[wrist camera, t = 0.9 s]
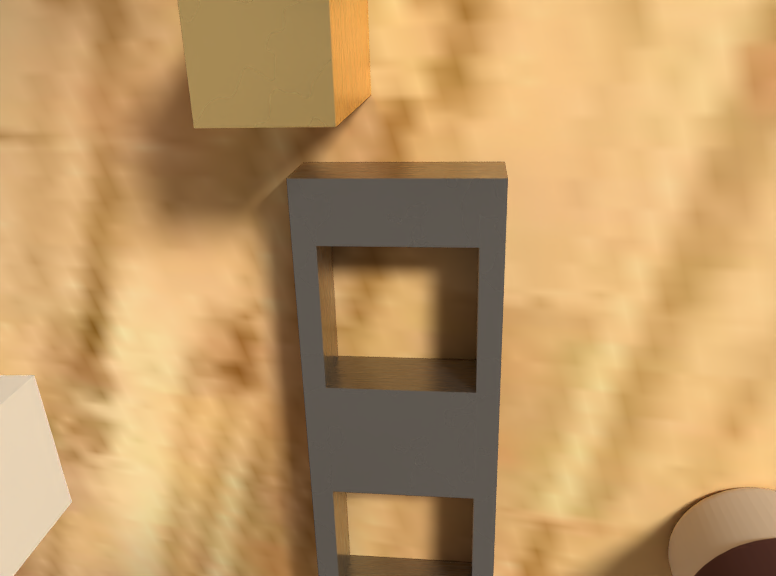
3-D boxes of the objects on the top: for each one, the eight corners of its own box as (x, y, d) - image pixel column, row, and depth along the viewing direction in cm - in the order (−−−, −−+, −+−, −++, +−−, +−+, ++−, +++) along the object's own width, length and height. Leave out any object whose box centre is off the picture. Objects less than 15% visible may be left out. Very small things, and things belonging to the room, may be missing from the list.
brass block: (253, -22, 28) (173, -30, 20) (366, -25, 27) (327, -35, 20) (263, 96, 29) (193, 128, 22) (370, 95, 29) (335, 126, 22)
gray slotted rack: (303, 162, 30) (286, 178, 28) (504, 161, 29) (507, 178, 27) (334, 593, 39) (323, 638, 36) (489, 603, 38) (490, 650, 35)
